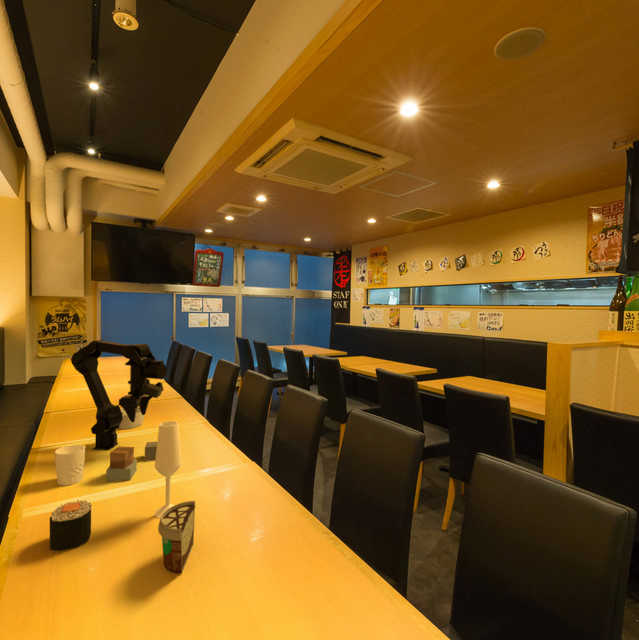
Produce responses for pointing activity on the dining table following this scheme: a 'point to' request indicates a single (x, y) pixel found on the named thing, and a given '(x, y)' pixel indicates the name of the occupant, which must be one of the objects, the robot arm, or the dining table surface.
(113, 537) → the dining table surface
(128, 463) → the walnut block
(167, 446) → the champagne flute
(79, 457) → the white cup
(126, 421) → the ramekin
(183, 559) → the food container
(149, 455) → the brown block
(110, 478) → the base block
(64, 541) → the sushi
